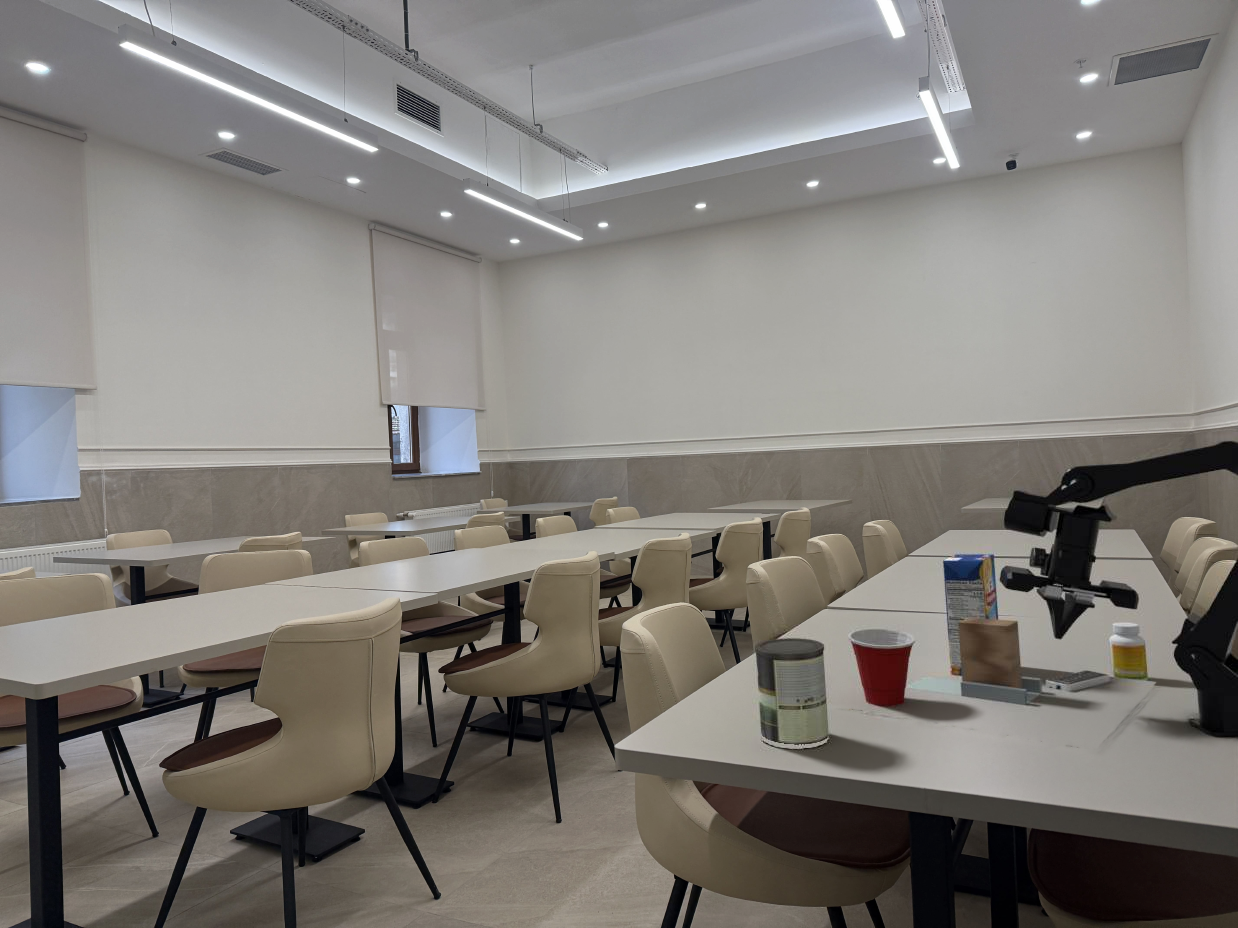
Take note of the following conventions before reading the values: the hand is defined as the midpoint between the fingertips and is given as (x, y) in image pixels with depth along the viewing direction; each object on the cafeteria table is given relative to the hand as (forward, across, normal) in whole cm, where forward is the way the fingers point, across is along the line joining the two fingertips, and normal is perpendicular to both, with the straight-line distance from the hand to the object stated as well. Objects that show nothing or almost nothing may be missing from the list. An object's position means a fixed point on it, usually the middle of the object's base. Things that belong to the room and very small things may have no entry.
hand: (1057, 638), depth 127 cm
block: (+12, +7, -4) cm, 15 cm away
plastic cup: (+16, +24, +2) cm, 29 cm away
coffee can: (+17, +38, +20) cm, 47 cm away
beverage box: (+15, +7, -20) cm, 26 cm away
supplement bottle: (+10, -17, -17) cm, 26 cm away
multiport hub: (+12, -8, -10) cm, 17 cm away
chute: (+14, +10, -5) cm, 18 cm away
